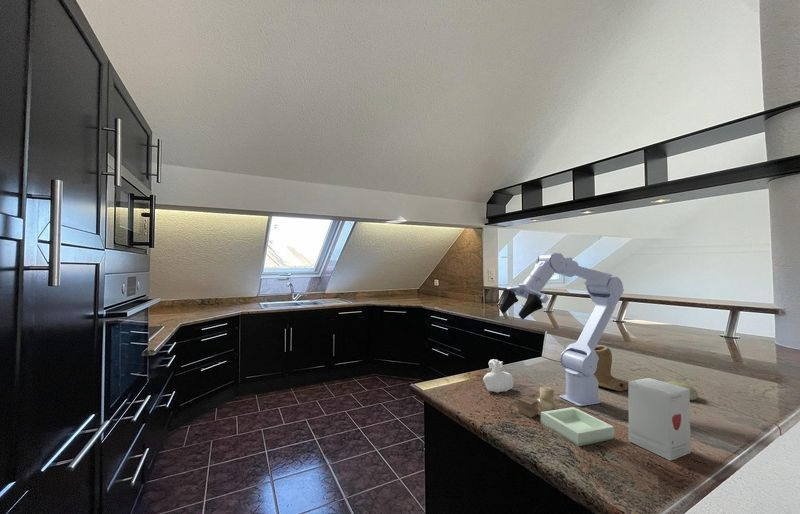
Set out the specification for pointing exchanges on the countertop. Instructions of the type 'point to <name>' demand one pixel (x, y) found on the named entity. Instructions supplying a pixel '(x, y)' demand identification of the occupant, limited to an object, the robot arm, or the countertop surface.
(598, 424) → the tray
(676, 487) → the countertop surface
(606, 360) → the brown boot
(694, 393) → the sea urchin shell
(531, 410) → the walnut cube
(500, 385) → the bust
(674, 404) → the supplement box
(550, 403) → the beech cylinder
